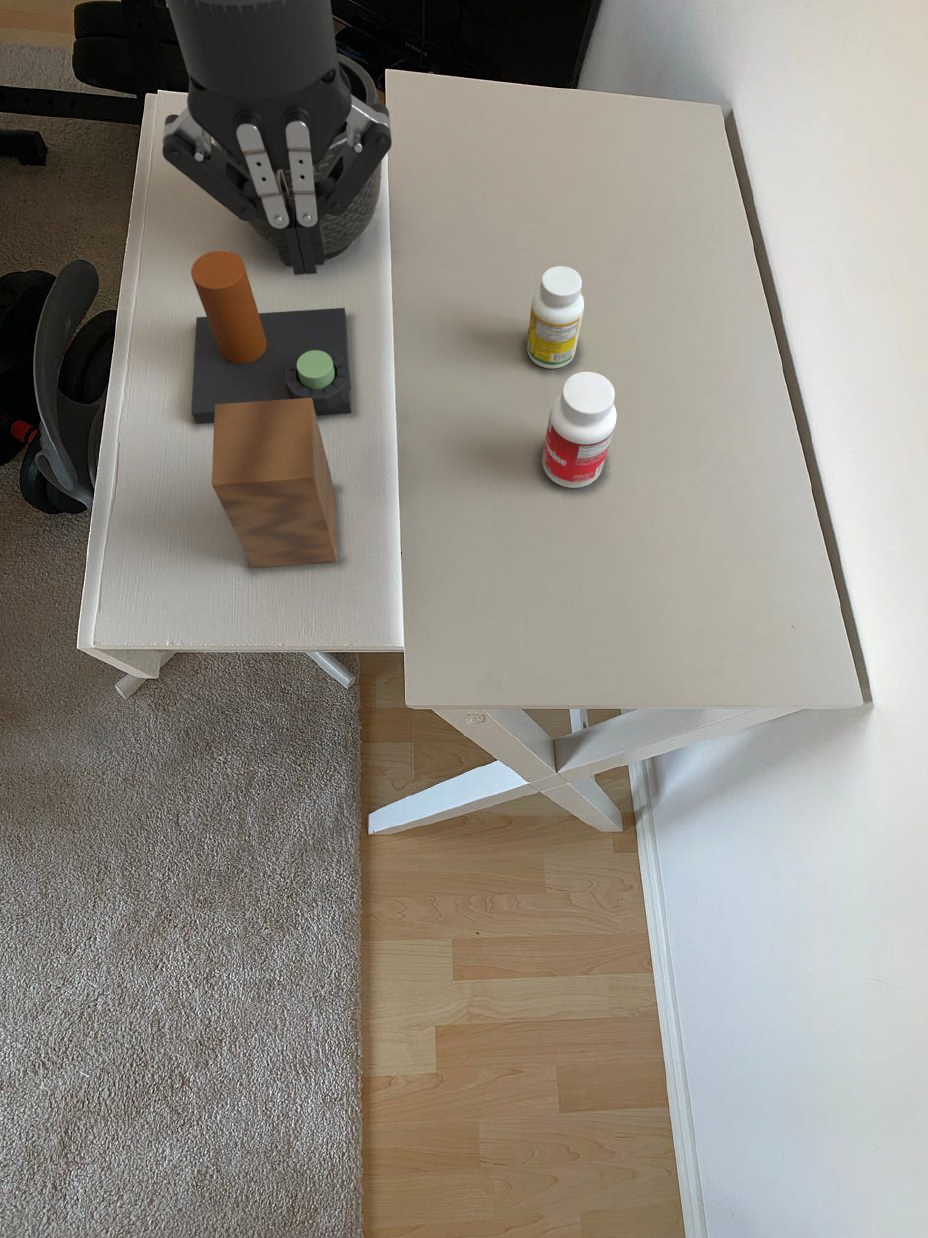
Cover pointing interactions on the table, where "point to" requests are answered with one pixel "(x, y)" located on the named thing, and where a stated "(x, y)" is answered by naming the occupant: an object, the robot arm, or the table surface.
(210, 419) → the scale
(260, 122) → the robot arm
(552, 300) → the supplement bottle
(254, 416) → the oak stand
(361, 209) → the planter
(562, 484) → the pill bottle
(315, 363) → the button
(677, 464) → the table surface
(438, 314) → the table surface
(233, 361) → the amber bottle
